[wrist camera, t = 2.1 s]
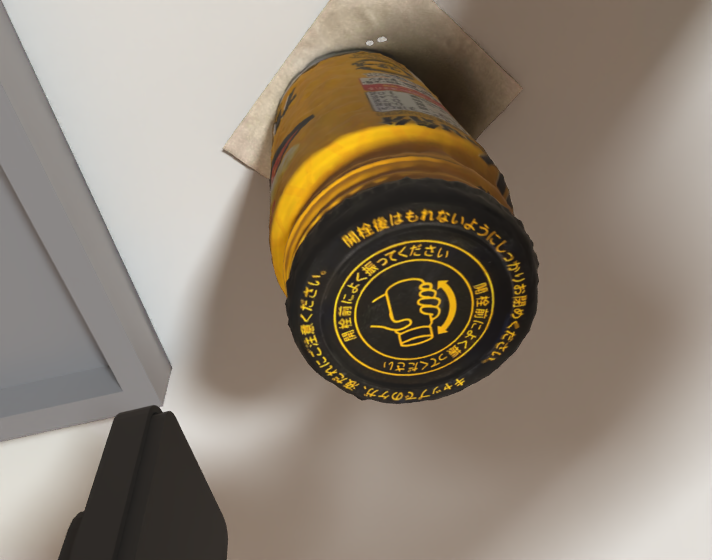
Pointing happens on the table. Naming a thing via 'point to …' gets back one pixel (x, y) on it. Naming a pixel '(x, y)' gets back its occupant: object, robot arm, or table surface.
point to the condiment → (391, 202)
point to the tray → (61, 278)
